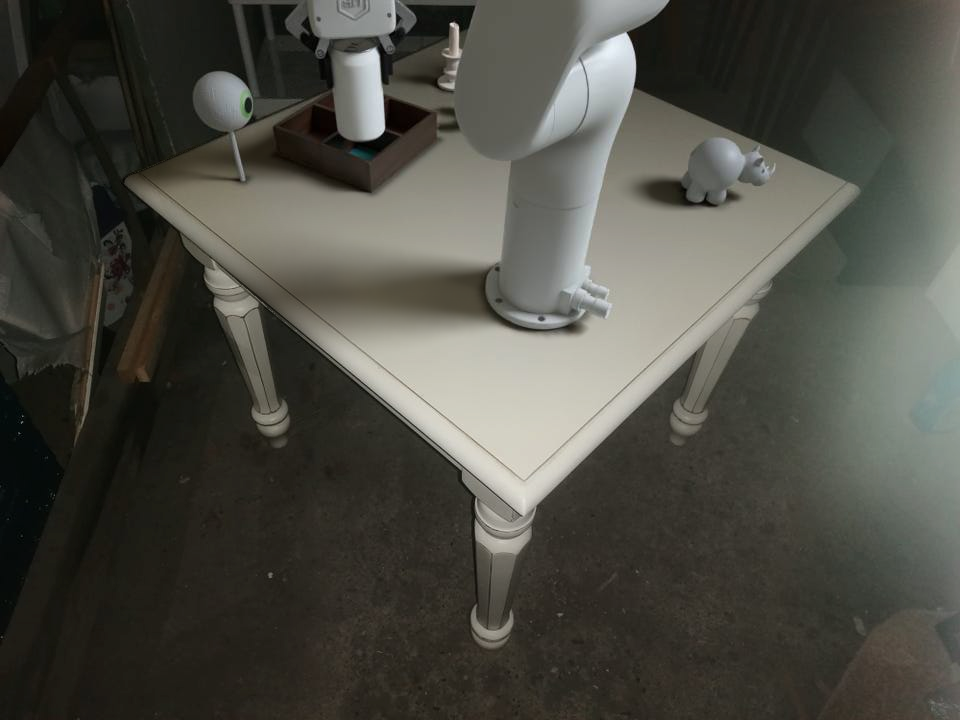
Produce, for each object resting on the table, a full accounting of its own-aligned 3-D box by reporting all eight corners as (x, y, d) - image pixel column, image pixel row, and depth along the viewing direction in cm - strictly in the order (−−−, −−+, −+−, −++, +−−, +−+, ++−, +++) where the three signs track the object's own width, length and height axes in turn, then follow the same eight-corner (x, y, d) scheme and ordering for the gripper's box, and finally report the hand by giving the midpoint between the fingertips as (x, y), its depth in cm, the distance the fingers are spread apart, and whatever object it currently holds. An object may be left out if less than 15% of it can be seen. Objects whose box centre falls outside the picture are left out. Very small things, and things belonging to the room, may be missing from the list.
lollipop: (256, 198, 90) (230, 91, 79) (206, 190, 91) (174, 83, 79) (277, 170, 95) (256, 65, 83) (230, 162, 95) (202, 57, 84)
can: (390, 122, 94) (386, 34, 85) (377, 146, 89) (371, 56, 80) (346, 116, 94) (336, 28, 85) (331, 139, 90) (319, 50, 81)
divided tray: (437, 139, 102) (437, 112, 99) (371, 192, 92) (369, 164, 89) (348, 107, 107) (346, 80, 104) (277, 154, 97) (272, 126, 94)
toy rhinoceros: (767, 214, 94) (792, 161, 87) (682, 207, 94) (700, 153, 87) (756, 185, 98) (779, 132, 92) (675, 178, 98) (692, 125, 92)
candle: (472, 81, 115) (475, 18, 108) (461, 94, 112) (463, 30, 104) (444, 74, 116) (445, 11, 109) (432, 87, 113) (432, 23, 105)
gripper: (263, -63, 69) (291, 101, 82) (428, -67, 73) (428, 91, 86) (260, -86, 74) (286, 73, 87) (414, -89, 77) (417, 64, 91)
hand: (357, 81), depth 87 cm, fingers closed on can, 6 cm apart
